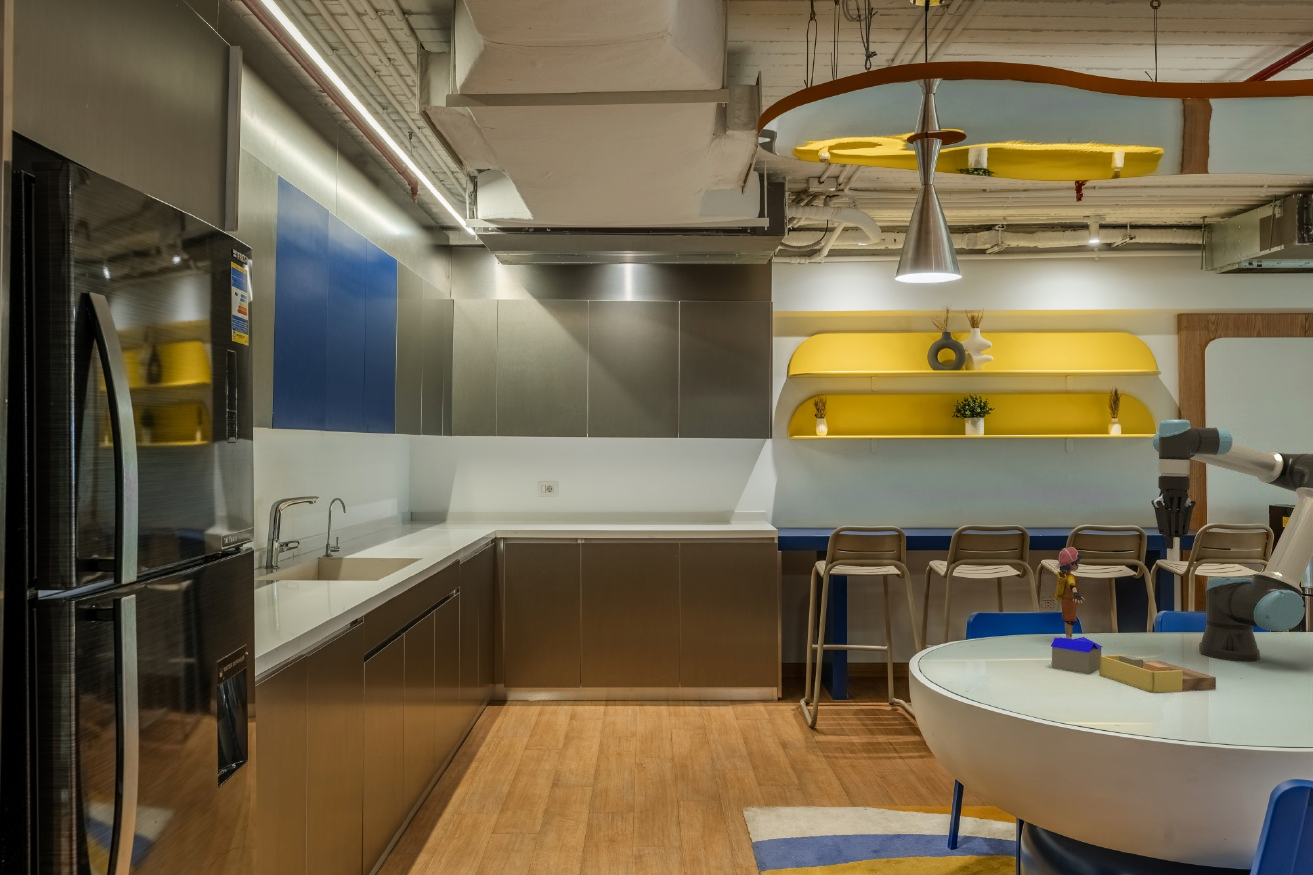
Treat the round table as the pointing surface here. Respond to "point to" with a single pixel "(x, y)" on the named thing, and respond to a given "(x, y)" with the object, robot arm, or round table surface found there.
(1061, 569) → the toy
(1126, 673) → the yellow tray
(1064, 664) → the house
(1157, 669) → the peach block
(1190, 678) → the walnut board
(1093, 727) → the round table surface
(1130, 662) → the grey square block
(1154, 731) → the round table surface
